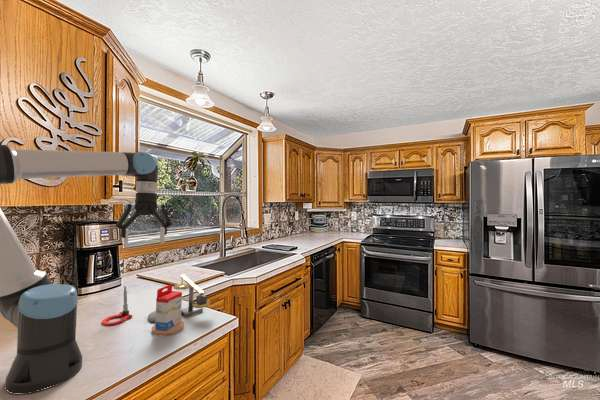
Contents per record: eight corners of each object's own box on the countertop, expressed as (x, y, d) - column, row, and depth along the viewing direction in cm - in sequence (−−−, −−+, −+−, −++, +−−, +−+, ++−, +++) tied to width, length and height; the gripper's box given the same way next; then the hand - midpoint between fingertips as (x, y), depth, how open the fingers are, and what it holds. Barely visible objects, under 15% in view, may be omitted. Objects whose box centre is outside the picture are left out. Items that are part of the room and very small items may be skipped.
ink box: (166, 331, 95) (167, 290, 96) (154, 329, 96) (156, 289, 97) (181, 321, 104) (182, 284, 104) (170, 319, 105) (171, 283, 105)
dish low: (159, 339, 92) (159, 335, 92) (147, 328, 99) (147, 325, 99) (189, 328, 101) (189, 325, 101) (176, 319, 108) (176, 316, 108)
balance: (196, 324, 104) (197, 287, 105) (168, 307, 120) (170, 275, 120) (214, 317, 110) (215, 282, 111) (185, 302, 126) (187, 272, 126)
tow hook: (110, 328, 100) (134, 318, 108) (109, 295, 99) (133, 287, 108) (96, 324, 103) (121, 314, 112) (96, 291, 103) (120, 284, 111)
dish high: (154, 325, 102) (154, 322, 102) (143, 317, 109) (143, 314, 109) (182, 316, 111) (182, 313, 111) (170, 309, 118) (170, 306, 118)
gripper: (113, 190, 95) (111, 248, 95) (181, 193, 115) (179, 242, 114) (107, 190, 100) (105, 246, 100) (173, 193, 119) (171, 240, 119)
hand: (144, 244), depth 107 cm, fingers open, 13 cm apart
